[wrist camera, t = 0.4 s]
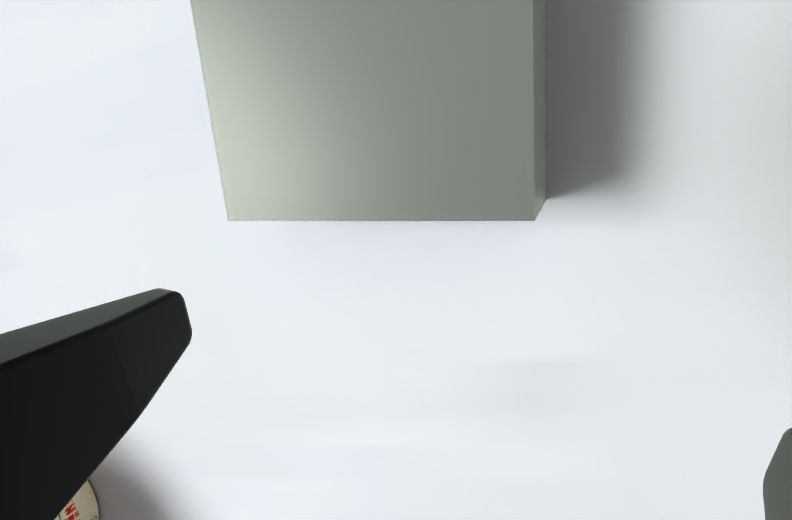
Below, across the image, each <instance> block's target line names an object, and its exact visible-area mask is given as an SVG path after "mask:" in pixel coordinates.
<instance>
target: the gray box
mask: <svg viewBox="0 0 792 520" xmlns="http://www.w3.org/2000/svg"><path fill="white" fill-rule="evenodd" d="M190 2H191V8H192V14H193V19H194V25H195V31H196V37H197V43H198V49H199V54H200V60H201V66H202V72H203V78H204V83H205V89H206V95H207V101H208V107H209V113H210V118H211V124H212V130H213V136H214V142H215V147H216V153H217V159H218V165H219V171H220V177H221V182H222V188H223V194H224V200H225V206H226V211H227V217H228V221H535V219H536V217H537V215H538V213H539V212H540V210H541V208H542V206H543V204H544V203H545V201H546V0H190Z"/></svg>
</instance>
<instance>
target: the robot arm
mask: <svg viewBox="0 0 792 520" xmlns="http://www.w3.org/2000/svg"><path fill="white" fill-rule="evenodd" d="M191 337H192V328H191V324H190V320H189V316H188V313H187V309H186V305H185V301H184V298H183V297H182V295H181V294H180V293H178V292H176V291H171V290H167V289H161V288H158V289H153V290H150V291H146V292H143V293H139V294H136V295H132V296H129V297H126V298H122V299H119V300H115V301H112V302H109V303H105V304H102V305H98V306H95V307H91V308H88V309H85V310H81V311H78V312H74V313H71V314H68V315H64V316H61V317H57V318H54V319H50V320H47V321H44V322H40V323H37V324H33V325H30V326H27V327H23V328H20V329H16V330H13V331H9V332H6V333H3V334H0V520H55V519H56V518H57V516H58V515H59V514H60V513H61V511H62V510H63V509H64V508H65V507H66V505H67V504H68V503H69V502H70V501H71V499H72V498H73V497H74V496H75V494H76V493H77V492H78V491H79V490H80V488H81V487H82V486H83V485H84V484H85V482H86V481H87V480H88V479H89V477H90V476H91V475H92V474H93V473H94V471H95V470H96V469H97V468H98V467H99V465H100V464H101V463H102V462H103V460H104V459H105V458H106V457H107V456H108V454H109V453H110V452H111V451H112V450H113V448H114V447H115V446H116V445H117V443H118V442H119V441H120V440H121V439H122V437H123V436H124V435H125V434H126V432H127V431H128V430H129V429H130V428H131V426H132V425H133V424H134V423H135V421H136V420H137V419H138V417H139V416H140V415H141V414H142V412H143V411H144V409H145V408H146V407H147V405H148V404H149V402H150V401H151V399H152V398H153V396H154V395H155V394H156V392H157V391H158V389H159V388H160V386H161V385H162V383H163V382H164V380H165V379H166V377H167V376H168V374H169V373H170V372H171V370H172V369H173V367H174V366H175V364H176V363H177V361H178V360H179V358H180V357H181V355H182V354H183V352H184V351H185V350H186V348H187V347H188V345H189V343H190V341H191ZM763 498H764V509H765V520H792V428H790V429H788V430H787V431H786V432H785V433H784V434H783V436H782V438H781V440H780V442H779V444H778V447H777V449H776V451H775V453H774V455H773V457H772V460H771V462H770V464H769V466H768V468H767V470H766V473H765V477H764V482H763Z"/></svg>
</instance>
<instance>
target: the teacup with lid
mask: <svg viewBox="0 0 792 520" xmlns="http://www.w3.org/2000/svg"><path fill="white" fill-rule="evenodd" d="M55 520H99V511H98V504H97V500H96V497H95V494H94V492H93V489H92V487H91V485H90V483H89V481H88V480H87V481H86V482H85V484H84V485H83V486H82V487H81V488H80V490H79V491H78V492H77V493H76V494H75V496H74V497H73V498H72V499H71V501H70V502H69V503H68V504H67V505H66V507H65V508H64V509H63V510H62V511H61V513H60V514H59V515H58V516H57V518H56V519H55Z"/></svg>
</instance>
